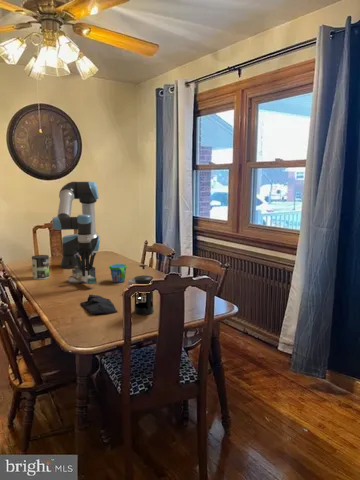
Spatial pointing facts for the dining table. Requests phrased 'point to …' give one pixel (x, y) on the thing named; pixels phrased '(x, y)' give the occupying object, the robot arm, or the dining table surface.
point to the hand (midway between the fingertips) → (85, 281)
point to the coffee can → (40, 266)
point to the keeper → (91, 272)
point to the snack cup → (118, 272)
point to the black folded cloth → (99, 305)
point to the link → (79, 275)
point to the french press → (146, 301)
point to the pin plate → (74, 280)
